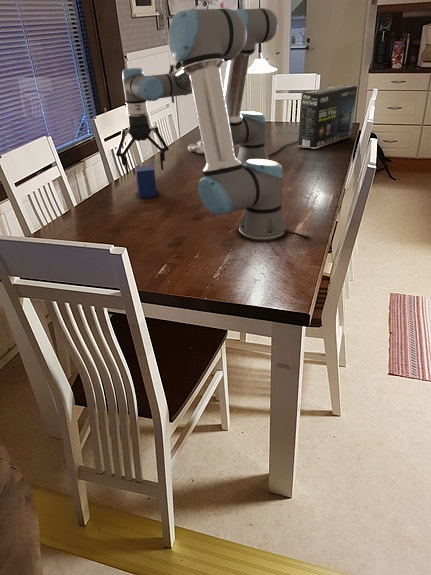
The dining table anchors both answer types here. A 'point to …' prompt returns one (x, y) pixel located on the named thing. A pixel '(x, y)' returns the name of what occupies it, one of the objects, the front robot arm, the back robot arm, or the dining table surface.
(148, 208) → the dining table surface
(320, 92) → the router box
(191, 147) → the fossil
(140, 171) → the block
